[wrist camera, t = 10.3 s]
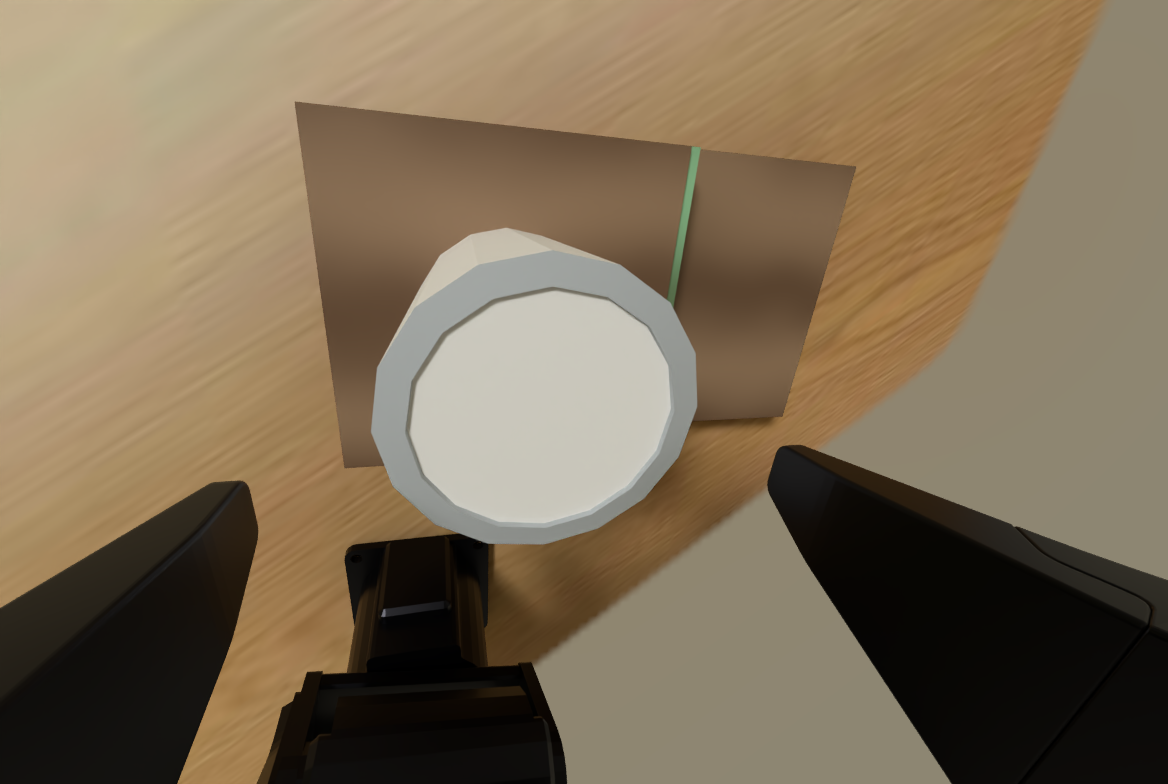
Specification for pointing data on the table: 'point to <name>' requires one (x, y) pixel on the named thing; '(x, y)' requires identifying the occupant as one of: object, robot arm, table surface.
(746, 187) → the stepped riser
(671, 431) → the white tapered cup
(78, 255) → the table surface
